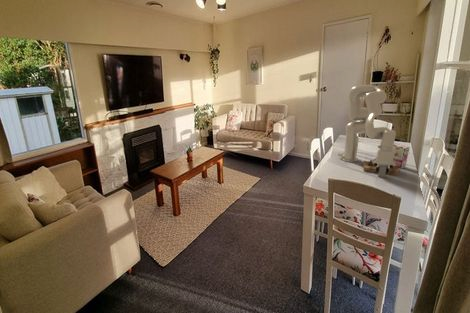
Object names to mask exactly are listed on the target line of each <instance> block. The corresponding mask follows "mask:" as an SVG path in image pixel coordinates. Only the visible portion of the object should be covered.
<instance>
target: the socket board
mask: <svg viewBox="0 0 470 313" xmlns="http://www.w3.org/2000/svg"><path fill="white" fill-rule="evenodd" d="M373 160H374V159H370V160H368V161H365V160H363V163H362V168H363V172H368V173H375V174H378V173H377V171H376V166H375V165H374V164H373V163H372V161H373ZM375 163H376V161H375ZM381 165H383V164H381ZM386 166H387V165H386ZM399 174H400V170H399V168H398V167H397V165H395V166H393V167H391V168H390V169H389V172H387V174H386V175H392V176H399Z"/></svg>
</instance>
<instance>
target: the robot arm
mask: <svg viewBox="0 0 470 313" xmlns="http://www.w3.org/2000/svg"><path fill="white" fill-rule="evenodd" d="M348 98H349V105H348V107H349V108H348V119H349V120H351V121H352V122H349V123H347V124H346V125H345V141H344V142H345V143H344V151H343V153H340V152H338V154H337V156H338V157H341V160H342V161H343V162H349V163H356V162H358V161H359V158H358V157H357V156H358V155H357V154H358V148H359V139H360V138H359V136H358V135H359V134H365V133H366V135H367V137H368V138H369V139H370V140H374V139H381V140H380V141H381V142H380V145H377V148H378V149H377V153H376V156H375V158H374V159H372V160H373V161H372V163H373V164H374V165H375V166H376V171H377V173H376V174H378V171H379V165H380V164H383V165H387V168H386V174H385V175H388V174H387V172H389V169H390V168H391V167H393V166H395V165H396V163H395V162H394V160H393V159H394V151H393V146H394V144H395V141H396V140H395V139H396V136H397V131H395V130H393V129H390V128H388V127H386V126H382V127H381V126H380V127H375V125H374V124H375V123H374V122H375V121H374V120H375V118H376V117H377V116H380V115H381V114H382V113H383V109H382V105H381V104H382V103H385V102H386V100H387V93H386V92H385V90H383V89H381V88H380V87H378V86H376V85H374V84H365V85H364V84H361V85H355V86H353V87H351V88H350V90H349V93H348ZM361 98H364V102H365V105H366V107H362V105H363V102H362V99H361ZM375 162H376V163H375Z"/></svg>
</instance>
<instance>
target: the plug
mask: <svg viewBox="0 0 470 313" xmlns="http://www.w3.org/2000/svg"><path fill="white" fill-rule="evenodd" d="M386 168H387V166H386V165H381V164H380V165H379V171H378V173H377V177H378V178H384V179H385V178H386V175H387V174H386Z"/></svg>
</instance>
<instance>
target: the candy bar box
mask: <svg viewBox="0 0 470 313" xmlns="http://www.w3.org/2000/svg"><path fill="white" fill-rule="evenodd" d="M393 151H394V159H393V160H394V162H395V163H396V165H397V167H398V169H400V170H401V169H406V165H407V161H408V158H409V157H408V156H409V152H410V146H406V145H403V144H399V143H394V146H393Z"/></svg>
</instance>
